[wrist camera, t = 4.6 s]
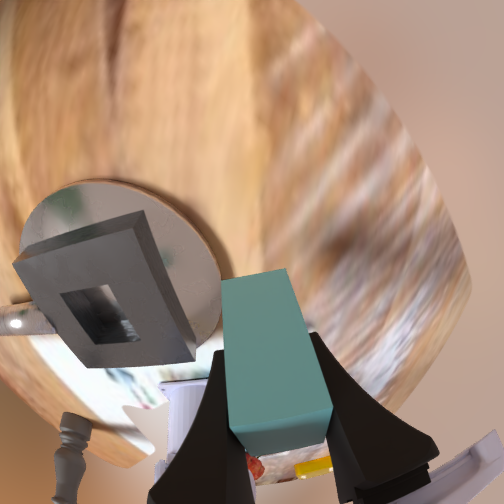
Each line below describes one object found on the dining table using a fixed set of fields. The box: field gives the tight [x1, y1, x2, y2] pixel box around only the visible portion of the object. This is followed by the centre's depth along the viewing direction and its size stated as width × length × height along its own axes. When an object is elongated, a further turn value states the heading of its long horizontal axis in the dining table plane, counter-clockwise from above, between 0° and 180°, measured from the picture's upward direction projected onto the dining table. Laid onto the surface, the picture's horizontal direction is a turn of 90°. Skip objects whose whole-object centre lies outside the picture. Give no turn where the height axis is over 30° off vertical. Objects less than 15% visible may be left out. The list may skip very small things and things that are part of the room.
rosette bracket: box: [0, 179, 222, 368], centre depth 18 cm, size 18×24×4 cm
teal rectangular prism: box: [221, 268, 333, 457], centre depth 11 cm, size 4×3×7 cm
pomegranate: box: [246, 453, 265, 480], centre depth 44 cm, size 7×7×10 cm
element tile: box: [294, 456, 334, 480], centre depth 62 cm, size 15×15×5 cm
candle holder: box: [51, 412, 92, 504], centre depth 24 cm, size 6×6×25 cm
